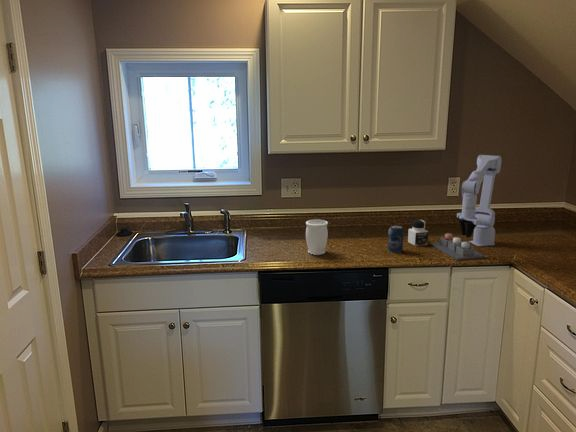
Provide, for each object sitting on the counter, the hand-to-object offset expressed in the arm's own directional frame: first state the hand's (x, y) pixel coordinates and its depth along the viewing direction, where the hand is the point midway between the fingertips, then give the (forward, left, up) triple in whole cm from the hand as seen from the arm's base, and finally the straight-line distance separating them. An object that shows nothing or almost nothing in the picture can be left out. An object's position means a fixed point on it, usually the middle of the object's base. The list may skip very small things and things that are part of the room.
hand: (466, 236), depth 205 cm
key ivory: (0, -7, -6) cm, 9 cm away
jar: (+65, -21, -10) cm, 69 cm away
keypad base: (0, -7, -9) cm, 12 cm away
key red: (0, -14, -6) cm, 15 cm away
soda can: (+28, -14, -10) cm, 33 cm away
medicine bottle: (+12, -22, -10) cm, 27 cm away
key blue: (0, 0, -6) cm, 6 cm away
